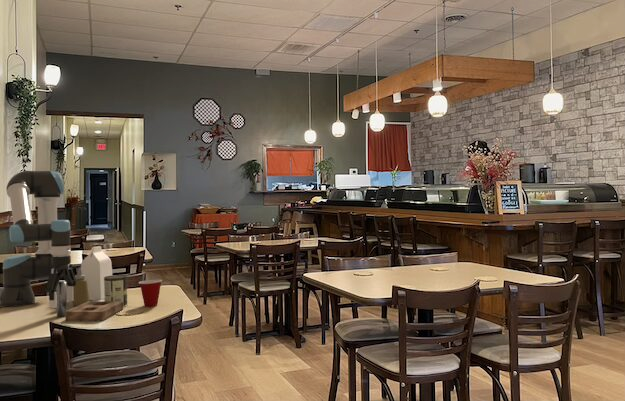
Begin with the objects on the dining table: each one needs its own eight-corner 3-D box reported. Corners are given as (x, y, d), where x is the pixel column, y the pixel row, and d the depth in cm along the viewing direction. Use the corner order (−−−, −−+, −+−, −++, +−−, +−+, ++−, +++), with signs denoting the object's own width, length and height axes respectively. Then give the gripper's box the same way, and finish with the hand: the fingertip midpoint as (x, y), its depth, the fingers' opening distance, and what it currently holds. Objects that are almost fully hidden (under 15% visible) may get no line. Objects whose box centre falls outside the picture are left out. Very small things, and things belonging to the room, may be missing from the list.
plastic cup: (151, 302, 249) (151, 277, 249) (167, 304, 244) (167, 279, 244) (133, 306, 240) (133, 281, 240) (149, 309, 234) (149, 283, 234)
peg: (54, 317, 220) (54, 282, 220) (60, 315, 224) (59, 281, 224) (63, 317, 220) (63, 282, 219) (68, 315, 224) (68, 281, 223)
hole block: (65, 321, 213) (65, 311, 213) (89, 309, 233) (88, 301, 233) (102, 321, 212) (102, 311, 212) (123, 310, 232) (122, 301, 232)
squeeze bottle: (82, 307, 238) (81, 269, 238) (66, 306, 240) (66, 268, 239) (92, 303, 246) (92, 266, 246) (78, 303, 248) (77, 266, 247)
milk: (100, 299, 255) (100, 248, 255) (79, 299, 257) (79, 247, 256) (113, 295, 267) (113, 245, 266) (93, 294, 269) (93, 245, 268)
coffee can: (117, 303, 248) (117, 274, 248) (132, 305, 243) (131, 275, 242) (99, 307, 239) (99, 277, 239) (113, 309, 234) (113, 279, 234)
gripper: (53, 259, 209) (53, 310, 209) (84, 252, 234) (84, 298, 234) (35, 259, 209) (36, 310, 209) (68, 252, 234) (68, 298, 234)
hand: (61, 304), depth 222 cm, fingers open, 13 cm apart
